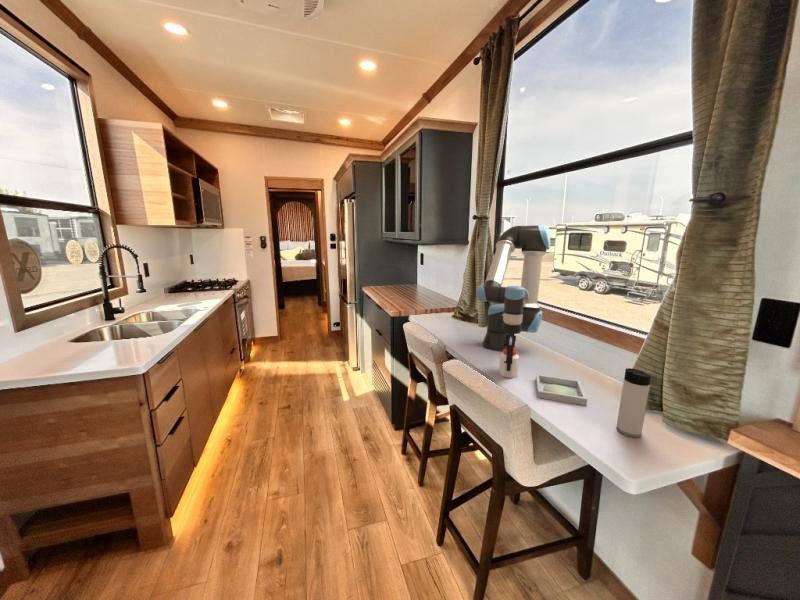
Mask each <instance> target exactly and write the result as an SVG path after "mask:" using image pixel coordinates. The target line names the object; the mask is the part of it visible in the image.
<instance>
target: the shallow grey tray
mask: <svg viewBox="0 0 800 600" xmlns="http://www.w3.org/2000/svg"><path fill="white" fill-rule="evenodd" d="M541 383H548V384H556V385H562V386H566V387H567V386H568V387H575V388H576V389H577V393H578V394H579V396H578V395H575V396H572V395H566V394H560V393H553V392H547V391H544V390H542V388H541ZM535 385H536V387H535V388H536V395H537V398H540V399H545V400H551V401H556V402H561V403H569V404H575V405H581V406H588V405H587V404H588V398H587V394H586V392H585V390H584V388H583V385H582V383H581V380H577V379H571V378H565V377H559V376H557V377H556V376H550V375H545V374H535Z"/></svg>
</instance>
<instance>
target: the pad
mask: <svg viewBox="0 0 800 600" xmlns="http://www.w3.org/2000/svg"><path fill="white" fill-rule="evenodd" d="M542 389H543V391H547V392H553V393H560V394H566V395H572V396H576V393H575V391H574V390H573V389H572V388H569V386H568V387H567V386H566V385H560V384H553V383H548V384H546V385H544V386H543V388H542Z"/></svg>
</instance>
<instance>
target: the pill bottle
mask: <svg viewBox="0 0 800 600" xmlns="http://www.w3.org/2000/svg"><path fill="white" fill-rule="evenodd" d="M506 355H507V348H504V349H503V351H501V353H500V355H499V364H498V365H499V367H498V374H499V375H500V376H502V377H504V376H505V363H504V361H505V362H506ZM519 361H520V356H519V354H518V350H517V349H515V348H513V358H512V362H513V363H512V374H511V378H512V379H513V378H517V377H518V375H519ZM511 378H510V379H511Z"/></svg>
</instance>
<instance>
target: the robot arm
mask: <svg viewBox="0 0 800 600" xmlns="http://www.w3.org/2000/svg"><path fill="white" fill-rule="evenodd" d="M550 248H551V231H550V228H549V226H547V225H539V224H538V225H515V226H512V227H509V228H507V229H506V230H505V231H503V233H502V234H501V235H500V236H499V237H498V239H497V240H496V243H495V253H494V255H493V258H492V260H491V264H490V267H489V270H488V274H487V276H486V279H485V282H484V284H479V285H478V286H477V289H476V298H477V300H478V301H480V302H486V303H487V302H488V303H495V304H492V305H489V307H488V312H487V324H486V325H487V327H486V333H485V334H484V335H485V336H484V338H483V340H482V346H483V347H484V348H486V349H488V350H493V351H499V352H503V349H504V348H507V355H506V362H505V361H504V363H505V376H503V377H504V378H509V379H511V374H512V363H513V362H512V358H513V349H515V346H516V342H517V335H518V334H521V333H522V332H525V333H528V334H529V333H531V334H535V333H537V332H538V331H539V328H540V326H541V322H542V319H543V311H542V310H540V309H541V306H540V305H539V304H538V299H539V292H540V291H539V290H540V282H541V281H540V280H541V271H542V262H543V257H544V256H545V255H546V254H547V250H551V249H550ZM516 249H521V251H520V252H521V254H522V255H523V263H522V264H523V265H522V275H521V280H520V281H521V283H520V285H508V286H507V285H506V286H502V284H503V281H504V278H505V275H506V272H507V269H508V265H509V263H510V259H511V255H512V253H514V252H515V250H516ZM515 334H517V335H515Z"/></svg>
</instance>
